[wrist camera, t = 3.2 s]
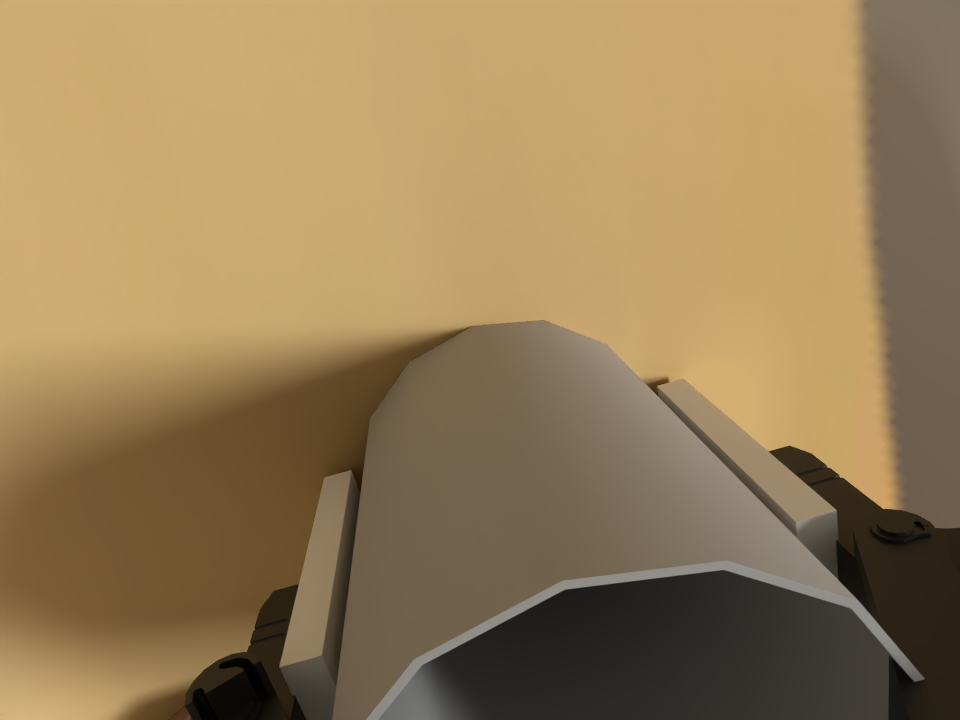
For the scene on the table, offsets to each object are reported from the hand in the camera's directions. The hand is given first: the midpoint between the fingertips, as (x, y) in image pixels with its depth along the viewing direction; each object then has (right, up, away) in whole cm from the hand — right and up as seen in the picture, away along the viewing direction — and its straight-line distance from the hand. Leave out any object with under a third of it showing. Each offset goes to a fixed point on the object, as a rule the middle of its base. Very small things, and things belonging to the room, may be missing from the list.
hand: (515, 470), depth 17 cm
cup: (0, 0, 0) cm, 0 cm away
